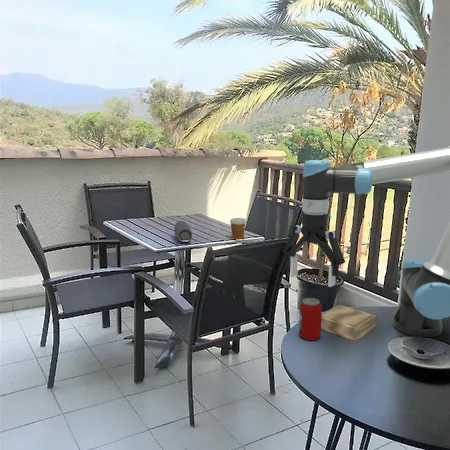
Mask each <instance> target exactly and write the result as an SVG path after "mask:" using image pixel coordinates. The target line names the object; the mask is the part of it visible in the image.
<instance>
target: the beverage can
mask: <svg viewBox="0 0 450 450" xmlns="http://www.w3.org/2000/svg"><path fill="white" fill-rule="evenodd" d="M322 309H323V306H322V304H321V302H320V300H319V299H318V298H314V297H306V298H303V299H302V301H301V303H300V304H299V317H298V318H299V320H298V321H299V322H298V323H299V324H298V325H299V326H298V334H299V336H300V337H302V339H304V340H307V341H314V340H317V339H319V338H320V337H321V335H322V330H321V317H322V311H323V310H322Z"/></svg>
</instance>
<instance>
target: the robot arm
mask: <svg viewBox="0 0 450 450" xmlns="http://www.w3.org/2000/svg"><path fill="white" fill-rule="evenodd" d="M448 173H449V174H450V144H449V145H448V147H442V148H436V149H430V150H424V151H418V152H412V153H406V154H401V155H395V156H388V157H383V158H376V159H371V160H364V161H359V162H353V163H349V162H346V163H341V165H339V166H337V167H333V166H331V165H330V161H329V160H324V159H310V160H306V161H305V162H303V173H302V197H301V198H302V199H301V200H302V203H301V211H302V212H301V225H302V226H301V225H300V224H296V225H294V226H292V230H291V231H292V232H291V234H290V236H289V237H288V239H287V242H286V244H285V246H284V248H283V253H284V254H286V255H288V265H289V267H290V268H289V269H290V270H289V271H290V273H289V277H290V278H293V277H296V276H298V259H299V258H298V255H297V253H298V252H299V250H301V248H302V247H303V246H304V245H305V244H306V243H308V244H313V245H318V246H319V247H320V248H321V249H322V251H323V252H324V253H323V254H324V255H325V256H326V258H327V260H328V261H329V263H330V264H329V265H328V282H327V285H328V287H329V288H331V287H333V286H335V285H336V277H337V276H338V275H339V267H340V266H341V265H342V264H345V263H346V260H345V257H344V255H343V251H342V250H341V246H340V244H339V241H338V239H337V232H336V230H332V231H327V225H328V213H327V212H328V211H329V210H328V209H329V194H348V195H349V194H352V195H354V194H355V195H364V194H365V195H367V194H369V193H370V192H371V191H372V189H373V187H372V185H376V184H382V183H388V182H389V183H391V182H397V181H402V180H409V179H415V178H423V177H428V176H436V175H443V174H448ZM300 234H302V236H301V237H300V238H299V240H298V242H296V241H297V239H298V237H299V235H300ZM327 239H328V240H327ZM295 243H296V244H295ZM401 269H402V271H401V272H402V273H401V285H400V286H401V287H400V297H399V303H398V306H397V308H396V310H395V312H394V315H393V317H392V326H393V328H395V330H397V331H398V332H401V333H403V334H405V335H408V336H413V337H419V338H432V337H438V336H439V335H441V334H442V332H443V321H442V320H444V319H447V318H449V317H450V221H449V222H448V225H447V227H446V229H445V230H444V233H443V234H442V237H441V239H440V241H439V244H438V245H437V247H436V249H435V252H434V253H433V255H432V257H431V259H425V258H408V259H405V260H404V261H403V264H402V268H401Z"/></svg>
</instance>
